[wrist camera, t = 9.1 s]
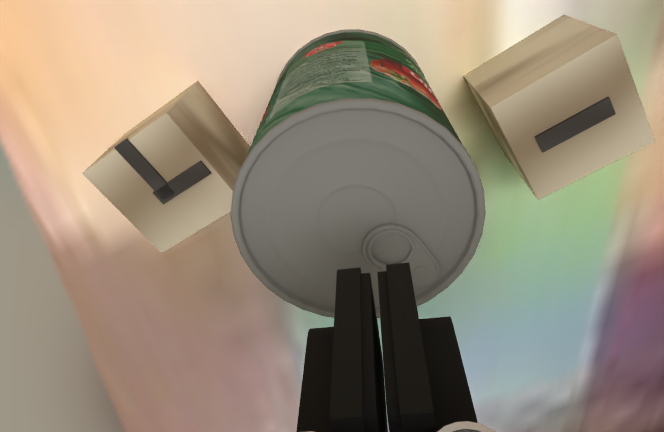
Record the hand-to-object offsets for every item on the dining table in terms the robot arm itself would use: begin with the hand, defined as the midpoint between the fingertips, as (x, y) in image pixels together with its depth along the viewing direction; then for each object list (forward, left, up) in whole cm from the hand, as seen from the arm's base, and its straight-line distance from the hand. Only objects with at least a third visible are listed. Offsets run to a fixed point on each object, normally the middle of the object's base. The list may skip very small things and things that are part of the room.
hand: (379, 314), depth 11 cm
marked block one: (-4, -8, -15) cm, 17 cm away
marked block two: (+3, +8, -15) cm, 18 cm away
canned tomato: (0, 0, -15) cm, 15 cm away
